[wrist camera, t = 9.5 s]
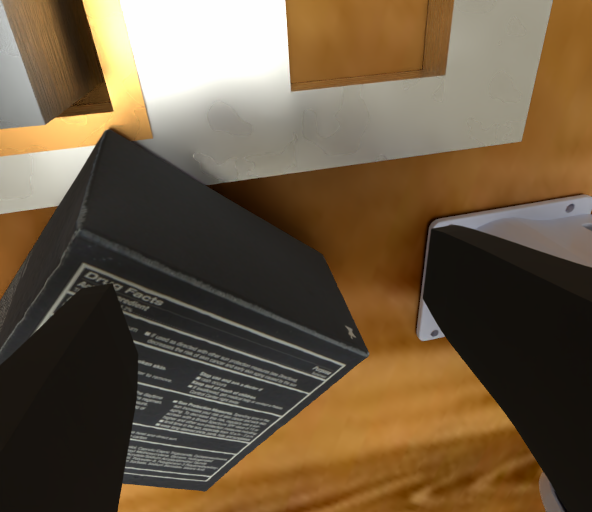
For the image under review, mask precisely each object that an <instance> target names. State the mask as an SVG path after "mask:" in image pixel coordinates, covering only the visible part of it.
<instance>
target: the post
mask: <svg viewBox="0 0 592 512" xmlns="http://www.w3.org/2000/svg"><path fill="white" fill-rule="evenodd" d="M102 82H103V80H102V76H101V72H100V68H99V65H98V61H97V57H96V53H95V50H94V46H93V42H92V39H91V35H90V31H89V27H88V24H87V20H86V16H85V12H84V9H83V5H82V1H81V0H0V129H8V128H19V127H30V126H40V125H46V124H47V123H49V122H50V121H51V120H53V119H54V118H55V117H57V116H58V115H59V114H61V113H62V112H63V111H65V110H66V109H67V108H69V107H70V106H71V105H73V104H74V103H75V102H77V101H78V100H79V99H81V98H82V97H83V96H85V95H86V94H88V93H89V92H90V91H92V90H93V89H94V88H96V87H97V86H98V85H100V84H101V83H102Z"/></svg>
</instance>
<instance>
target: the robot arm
mask: <svg viewBox="0 0 592 512" xmlns="http://www.w3.org/2000/svg"><path fill="white" fill-rule="evenodd" d="M567 206H568V207H567ZM591 210H592V197H591V196H589V195H585V194H583V195H577V196H571V197H565V198H559V199H553V200H547V201H542V202H536V203H530V204H524V205H518V206H512V207H506V208H500V209H494V210H488V211H482V212H476V213H470V214H464V215H458V216H452V217H446V218H440V219H436V220H435V221H433V222H432V223H431V225H430V227H429V231H428V239H427V248H426V256H425V265H424V273H423V281H422V290H421V298H420V307H419V315H418V324H417V332H416V333H417V336H418V338H419V339H420V340H422V341H427V340H431V339H436V338H441V337H446V338H447V340H448V341H449V342H450V343H451V345H452V346H453V347H454V349H455V350H456V351H457V352H458V354H459V355H460V356H461V358H462V359H463V360H464V361H465V363H466V364H467V365H468V367H469V368H470V369H471V370H472V372H473V373H474V374H475V375H476V377H477V378H478V379H479V380H480V382H481V383H482V384H483V385H484V387H485V388H486V389H487V391H488V392H489V393H490V394H491V396H492V397H493V398H494V399H495V401H496V402H497V403H498V404H499V406H500V407H501V408H502V410H503V411H504V412H505V414H506V415H507V417H508V418H509V419H510V421H511V422H512V423H513V425H514V426H515V428H516V429H517V431H518V432H519V434H520V435H521V437H522V439H523V440H524V442H525V443H526V445H527V446H528V448H529V450H530V451H531V453H532V454H533V456H534V457H535V459H536V460H537V462H538V464H539V465H540V467H541V468H542V470H543V473H542V474H541V477H540V480H539V488H540V494H541V498H542V501H543V504H544V507H545V511H546V512H592V215H591V214H590V213H591ZM450 224H451V225H450ZM448 225H449V226H448ZM432 331H433V332H432ZM137 387H138V352H137V349H136V347H135V344H134V341H133V338H132V336H131V333H130V330H129V327H128V325H127V322H126V319H125V316H124V313H123V311H122V308H121V305H120V302H119V300H118V297H117V294H116V291H115V289H114V286H113V283H110V284H104V285H98V286H92V287H86V288H82V289H80V290H79V291H78V292H77V293H75V294H74V295H73V296H72V297H71V298H70V299H69V300H68V301H67V302H66V303H65V304H64V305H63V306H62V307H60V308H59V309H58V310H57V311H56V312H55V313H54V314H53V315H52V316H51V317H50V318H49V319H48V320H47V321H46V322H45V323H44V324H43V325H42V326H41V327H40V328H39V329H38V330H37V331H36V332H35V333H34V334H33V335H32V336H31V337H30V338H29V339H28V340H26V341H25V342H24V343H23V344H22V345H21V346H20V347H19V348H18V349H17V350H16V351H15V352H14V353H13V354H12V355H11V356H10V357H9V358H8V359H6V360H5V361H4V362H3V363H2V364H1V365H0V512H117V511H118V504H119V498H120V493H121V487H122V482H123V476H124V470H125V465H126V459H127V453H128V448H129V442H130V436H131V431H132V425H133V419H134V413H135V407H136V401H137Z"/></svg>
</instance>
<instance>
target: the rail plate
mask: <svg viewBox="0 0 592 512" xmlns="http://www.w3.org/2000/svg"><path fill="white" fill-rule="evenodd" d="M82 1H83V4H84V8H85V11H86V15H87V18H88V22H89V25H90V29H91V32H92V36H93V39H94V43H95V46H96V50H97V54H98V57H99V61H100V64H101V68H102V71H103V75H104V78H105V82H106V85H107V89H108V92H109V96H110V99H111V102H109V103H99V104H89V105H80V106H70V107H69V108H67V109H66V110H65V111H63V112H62V113H61V114H59V115H58V116H57V117H55V118H54V119H53V120H51V121H50V122H49V123H47V124H46V125H40V126H30V127H19V128H8V129H0V214H3V213H10V212H18V211H25V210H32V209H39V208H46V207H53V206H59V204H60V202H61V201H62V199H63V198H64V196H65V194H66V193H67V191H68V190H69V188H70V187H71V185H72V184H73V182H74V180H75V179H76V177H77V176H78V174H79V172H80V170H81V169H82V167H83V166H84V164H85V163H86V161H87V159H88V157H89V156H90V154H91V152H92V151H93V149H94V147H95V145H96V144H97V142H98V141H99V139H100V137H101V136H102V134H103V133H104V131H105V130H112V131H114V132H115V133H117V134H119V135H121V136H122V137H124V138H126V139H127V140H129V141H131V142H132V143H134V144H136V145H137V146H139V147H141V148H142V149H144V150H146V151H147V152H149V153H151V154H153V155H154V156H156V157H158V158H159V159H161V160H163V161H165V162H166V163H168V164H170V165H171V166H173V167H175V168H177V169H178V170H180V171H182V172H183V173H185V174H187V175H188V176H190V177H192V178H193V179H195V180H197V181H199V182H200V183H202V184H204V185H211V184H219V183H226V182H233V181H240V180H247V179H255V178H262V177H269V176H276V175H283V174H290V173H298V172H305V171H312V170H319V169H326V168H334V167H341V166H348V165H355V164H362V163H369V162H377V161H384V160H391V159H398V158H405V157H413V156H420V155H427V154H434V153H441V152H449V151H456V150H463V149H470V148H477V147H484V146H492V145H499V144H506V143H513V142H520V141H522V137H523V132H524V128H525V123H526V119H527V114H528V110H529V105H530V101H531V96H532V92H533V87H534V83H535V78H536V74H537V69H538V65H539V60H540V56H541V51H542V47H543V42H544V38H545V33H546V29H547V25H548V20H549V16H550V11H551V7H552V2H553V0H429V4H428V15H427V26H426V37H425V49H424V60H423V70H418V71H408V72H399V73H389V74H379V75H370V76H360V77H350V78H341V79H331V80H321V81H312V82H302V83H292V84H291V83H290V68H289V53H288V37H287V22H286V7H285V0H82Z"/></svg>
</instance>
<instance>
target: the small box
mask: <svg viewBox="0 0 592 512" xmlns="http://www.w3.org/2000/svg"><path fill="white" fill-rule="evenodd" d="M110 283H113V286H114V289H115V291H116V294H117V297H118V300H119V302H120V305H121V308H122V311H123V313H124V316H125V319H126V322H127V325H128V327H129V330H130V333H131V336H132V338H133V341H134V344H135V347H136V349H137V352H138V387H137V401H136V407H135V413H134V419H133V425H132V431H131V436H130V442H129V448H128V453H127V459H126V465H125V470H124V476H123V482H122V483H123V484H134V485H144V486H155V487H164V488H176V489H187V490H199V491H207V490H208V489H209V488H210V487H211V486H212V485H213V484H214V483H215V482H217V481H218V480H219V479H220V478H221V477H222V476H223V475H224V474H225V473H227V472H228V471H229V470H230V469H231V468H232V467H233V466H235V465H236V464H237V463H238V462H239V461H240V460H241V459H243V458H244V457H245V456H246V455H247V454H249V453H250V452H251V451H253V450H254V449H255V448H256V447H257V446H258V445H260V444H261V443H262V442H263V441H265V440H266V439H267V438H268V437H269V436H271V435H272V434H273V433H274V432H275V431H276V430H278V429H279V428H280V427H281V426H283V425H285V424H286V423H287V422H288V421H289V420H291V419H292V418H293V417H294V416H296V415H297V414H298V413H299V412H300V411H302V410H303V409H304V408H305V407H306V406H308V405H309V404H310V403H311V402H312V401H314V400H315V399H317V398H318V397H319V396H320V395H321V394H322V393H324V392H325V391H326V390H328V389H329V388H330V387H331V386H332V385H333V384H334V383H336V382H337V381H338V380H339V379H341V378H342V377H343V376H344V375H346V374H347V373H348V372H349V371H350V370H351V369H353V368H354V367H355V366H356V365H357V364H359V363H360V362H361V361H363V360H364V359H365V358H367V357H368V356H369V352H368V349H367V347H366V346H365V343H364V341H363V339H362V337H361V335H360V333H359V331H358V328H357V326H356V324H355V322H354V320H353V318H352V316H351V313H350V311H349V309H348V307H347V305H346V303H345V301H344V298H343V296H342V294H341V292H340V290H339V288H338V287H337V283H336V282H335V280H334V277H333V275H332V273H331V271H330V269H329V267H328V265H327V263H326V260H325V258H324V256H323V255H322V254H321V253H319V252H318V251H316V250H314V249H313V248H311V247H309V246H307V245H306V244H304V243H302V242H301V241H299V240H297V239H295V238H294V237H292V236H290V235H289V234H287V233H285V232H284V231H282V230H280V229H278V228H277V227H275V226H273V225H272V224H270V223H268V222H267V221H265V220H263V219H261V218H260V217H258V216H256V215H255V214H253V213H251V212H250V211H248V210H246V209H244V208H243V207H241V206H239V205H238V204H236V203H234V202H232V201H231V200H229V199H227V198H226V197H224V196H222V195H221V194H219V193H217V192H216V191H214V190H212V189H211V188H209V187H207V186H206V185H204V184H202V183H200V182H199V181H197V180H195V179H193V178H192V177H190V176H188V175H187V174H185V173H183V172H182V171H180V170H178V169H177V168H175V167H173V166H171V165H170V164H168V163H166V162H165V161H163V160H161V159H159V158H158V157H156V156H154V155H153V154H151V153H149V152H147V151H146V150H144V149H142V148H141V147H139V146H137V145H136V144H134V143H132V142H131V141H129V140H127V139H126V138H124V137H122V136H121V135H119V134H117V133H115V132H114V131H112V130H105V131H104V133H103V134H102V136H101V137H100V139H99V141H98V142H97V144H96V145H95V147H94V149H93V151H92V152H91V154H90V156H89V157H88V159H87V161H86V163H85V164H84V166H83V167H82V169H81V170H80V172H79V174H78V176H77V177H76V179H75V180H74V182H73V184H72V185H71V187H70V188H69V190H68V191H67V193H66V194H65V196H64V198H63V199H62V201H61V202H60V204H59V206H58V207H57V209H56V211H55V212H54V214H53V216H52V217H51V219H50V220H49V222H48V224H47V225H46V227H45V228H44V230H43V231H42V233H41V235H40V237H39V238H38V240H37V242H36V243H35V245H34V246H33V248H32V250H31V251H30V253H29V254H28V256H27V258H26V259H25V261H24V263H23V264H22V266H21V267H20V269H19V271H18V272H17V274H16V276H15V277H14V279H13V281H12V282H11V284H10V285H9V287H8V289H7V290H6V292H5V293H4V295H3V297H2V298H1V300H0V365H1V364H2V363H3V362H4V361H5V360H6V359H8V358H9V357H10V356H11V355H12V354H13V353H14V352H15V351H16V350H17V349H18V348H19V347H20V346H21V345H22V344H23V343H24V342H25V341H26V340H28V339H29V338H30V337H31V336H32V335H33V334H34V333H35V332H36V331H37V330H38V329H39V328H40V327H41V326H42V325H43V324H44V323H45V322H46V321H47V320H48V319H49V318H50V317H51V316H52V315H53V314H54V313H55V312H56V311H57V310H58V309H59V308H60V307H62V306H63V305H64V304H65V303H66V302H67V301H68V300H69V299H70V298H71V297H72V296H73V295H74V294H75V293H77V292H78V291H79V290H80V289H82V288H86V287H92V286H98V285H104V284H110Z"/></svg>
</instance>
